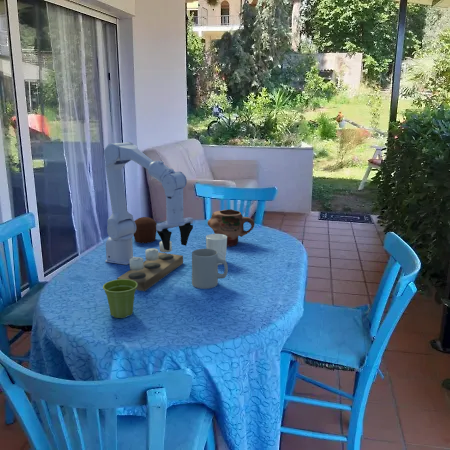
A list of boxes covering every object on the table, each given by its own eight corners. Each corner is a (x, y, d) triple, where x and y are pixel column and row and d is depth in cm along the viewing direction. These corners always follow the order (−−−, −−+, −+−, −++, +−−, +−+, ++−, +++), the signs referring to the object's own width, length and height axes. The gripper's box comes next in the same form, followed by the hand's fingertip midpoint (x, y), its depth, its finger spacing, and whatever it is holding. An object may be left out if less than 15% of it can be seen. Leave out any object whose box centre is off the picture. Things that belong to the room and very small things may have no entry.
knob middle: (143, 259, 154) (142, 250, 153) (149, 255, 158) (149, 247, 157) (154, 261, 153) (154, 252, 152) (160, 257, 157) (160, 248, 156)
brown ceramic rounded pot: (254, 240, 197) (255, 209, 194) (253, 248, 186) (254, 216, 182) (209, 238, 199) (209, 207, 195) (205, 247, 187) (205, 214, 184)
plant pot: (107, 306, 131) (105, 279, 129) (140, 305, 132) (139, 278, 130) (101, 321, 122) (99, 292, 120) (136, 320, 123) (135, 291, 121)
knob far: (157, 251, 163) (157, 242, 162) (163, 247, 167) (163, 239, 166) (168, 252, 162) (168, 244, 161) (173, 249, 166) (173, 240, 165)
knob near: (127, 269, 145) (126, 260, 144) (134, 265, 149) (134, 255, 148) (139, 271, 144) (138, 261, 143) (146, 266, 147) (145, 257, 147)
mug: (188, 287, 146) (188, 255, 143) (196, 277, 154) (196, 247, 151) (224, 291, 143) (224, 258, 140) (230, 281, 151) (231, 250, 148)
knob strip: (117, 286, 146) (117, 277, 145) (159, 259, 171) (159, 251, 170) (144, 291, 142) (144, 281, 142) (183, 263, 168) (183, 255, 167)
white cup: (224, 266, 165) (224, 240, 162) (203, 264, 167) (203, 238, 164) (228, 259, 172) (229, 234, 170) (208, 257, 174) (208, 233, 171)
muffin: (145, 235, 203) (144, 213, 200) (163, 239, 197) (163, 217, 194) (125, 241, 194) (124, 218, 191) (143, 246, 188) (143, 222, 185)
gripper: (165, 214, 143) (166, 254, 146) (198, 207, 153) (199, 245, 156) (151, 210, 147) (152, 249, 151) (185, 204, 158) (185, 241, 161)
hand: (175, 247), depth 154 cm, fingers open, 7 cm apart
